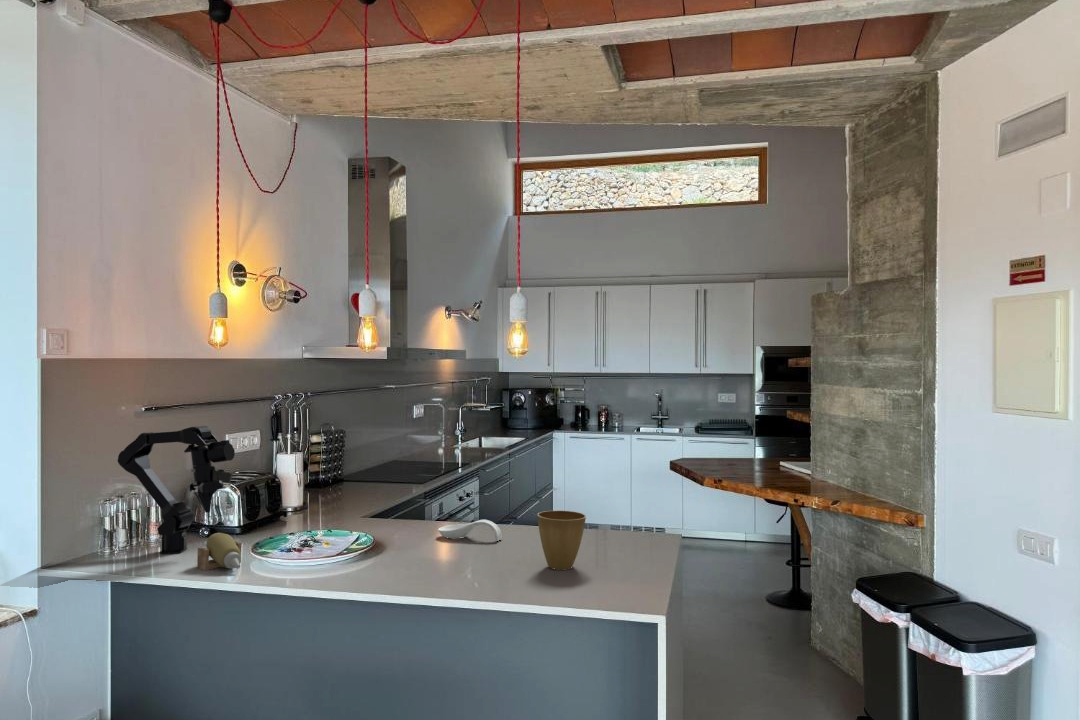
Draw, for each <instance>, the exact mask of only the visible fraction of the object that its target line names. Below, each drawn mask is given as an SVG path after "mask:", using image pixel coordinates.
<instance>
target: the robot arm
mask: <svg viewBox="0 0 1080 720" xmlns="http://www.w3.org/2000/svg"><path fill="white" fill-rule="evenodd" d="M168 443H169V444H170V443H181V444H187V445H188V446H187V447H186V449H184V450H183V453H190V457H191V463H192V465H191V466H192V468H191V469H190V471H191V473H193V474H192V475H193V481H192V482H191V481H190V482H189V483H188V484H187V485H186V491H187V492H192V491H194V492H192V495H194V497H195V498H196V499H197V502H198V503H199V506H201V508H202V510H204V513H206V514H208V513H210V511H211V505H212V501H213V500H212V499H213V496H214V494H215V493H216V492H217V491H218V490H221V489H224V483H231V481H232V480H231V479H232V478H233V477H232V475H233V472H227V471H225V469H221V468H218V469H217V470H216V467H215V465H213V464H214V463H215V464H217V463H222V462H229V461H233V459H234V458H235V449H234V446H233V445H232V444H231V443H230V440H229V439H225V440H221V441H219V440H218V438H217V437H216V436H215V435H214V434H213V433H212V430H211V428H209V426H207V425H200V426H199V425H198V426H191V427H187V428H182V429H180V430H174V431H169V430H168V431H158V432H157V431H155V432H154V431H153V432H152V431H147V432H142V433H140V434H139V435H138V436H137V438H135V439H134V440H133V441H131V442H130V444H128V445H126V447H125V448H124V449H123V450H121V451H120V452H119V454H118V457H117V463H118V465H119V466H120V467H121V468H122V469H123V470H124V471H126V472H127V473H129V474H131V475H133V476H134V477H136V478H137V480H138V481H139V482H140V484H141V485H142V486H143V488H145V490H146V491H147V493H148V494H149V496H151V498H152V499H153V501H154V502H155V503H156V504H157V505H158V507H159V508H160V510H161V517H162V518H161V519H162V521H163V522H162V523H161V524H160V525H159V526H158V527H157V532H158V535H159V536H160V535H161V550H159V554H181V553H182V552H185V550H187V549H188V535H186V533H187V532H186V531H188V530H189V528H190V526H191V524H192V523H193V521H194V518H195V517H194V512H193V508H192V507H190V505H188V503H187V502H186V500H183V501H178V500H176V498H175V497H174V496H173V495H172V494H171V492H170V491H169V490H168V489H167V487H166V486H165V484H164V483H163V482H162V480H160V478H159V477H158V476H157V474H156V473H155V472H154V471H153V469H152V468H151V460H150V457H149V455H150V453H151V452H152V451H153V447H154V445H156V444H168ZM212 463H213V464H212Z"/></svg>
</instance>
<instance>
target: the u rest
mask: <svg viewBox="0 0 1080 720" xmlns="http://www.w3.org/2000/svg"><path fill="white" fill-rule="evenodd" d="M234 541H235V543H236V545H237V546H238V548H239V550H240V552H241V553H242V547H243V546H242V545H243V544H242V542H241V541H240V542H239V541H236V540H234ZM196 558H197V559H196V560H197V562H196V563H197V564H196V566H197V567H196V568H197V569H200V570H203V571H208V570H212V569H217V567H218V568H221V567H222V566H221V565H220V564H218V563H217V562H216V561H215V560H213V559H210V556H209V549H207V548H206V547H202V546H199V547H197V557H196ZM222 568H223V567H222Z"/></svg>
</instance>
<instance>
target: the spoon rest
mask: <svg viewBox="0 0 1080 720" xmlns="http://www.w3.org/2000/svg"><path fill="white" fill-rule="evenodd" d="M480 525H485V526H487V527H489V528H490V529H491V530H492V531H493V534H494V541H495V540H497V541H498V540H500V539H501V538H502V539H503V534H502V531H501V529H500V527H499V526H498V525H497V524H496V523H494V522H493V521H491V520H488V519H479V520H476V521H473V522H469V523H459V524H458V523H457V524H448V525H444V526H441V527H439V528H438V529H437V531H438V533H439V534H440V535H441V536H442V537H443V538H445V537H448V538H460V537H465V538H466V537H467V536H468V535H469V534H471V532H472V531H473V530H474V529H475V528H476V527H478V526H480ZM448 538H447V539H448Z"/></svg>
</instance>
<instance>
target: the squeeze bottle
mask: <svg viewBox="0 0 1080 720" xmlns="http://www.w3.org/2000/svg"><path fill="white" fill-rule="evenodd" d="M235 541H236V540H234V538H233V537H232V536H231V535H229V534H228V533H223V532H215V533H213V534H211V535H210V536H209V537H208V538H207V541H206V545H205V546H206V547H205V548H206V549H209V558H210V559H211V560H215V561H216V562H217V563H218V564H220V565H221V566H222V568H225V569H230V570H231V569H238V570H239V569H240V568H241V563H242V551H241V552H240V550H239V548H238V546H237V545H236V543H235Z"/></svg>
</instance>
